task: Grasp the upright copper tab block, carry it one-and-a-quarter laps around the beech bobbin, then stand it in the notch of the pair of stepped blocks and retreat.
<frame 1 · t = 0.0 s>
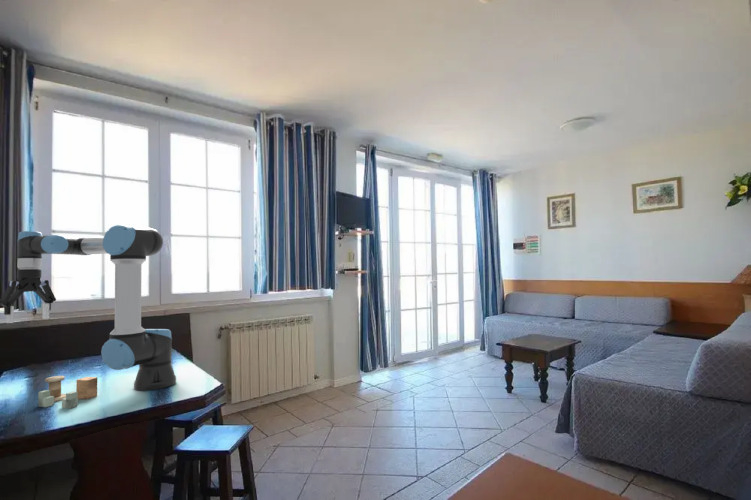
hand: (28, 320, 161), 28 cm above the table, fingers open, 13 cm apart
bobbin: (54, 399, 145), on the table
pair of stepped blocks: (57, 406, 137), on the table
tab: (86, 397, 147), on the table
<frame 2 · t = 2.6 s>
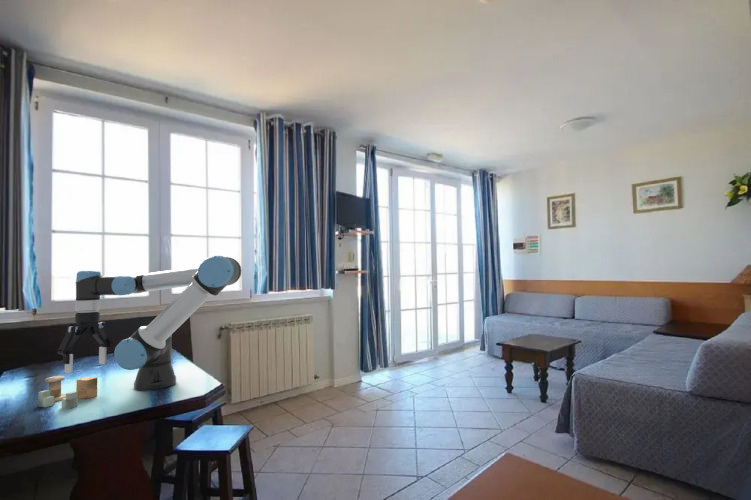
hand: (86, 368, 147), 11 cm above the table, fingers open, 13 cm apart
nothing on the table moved.
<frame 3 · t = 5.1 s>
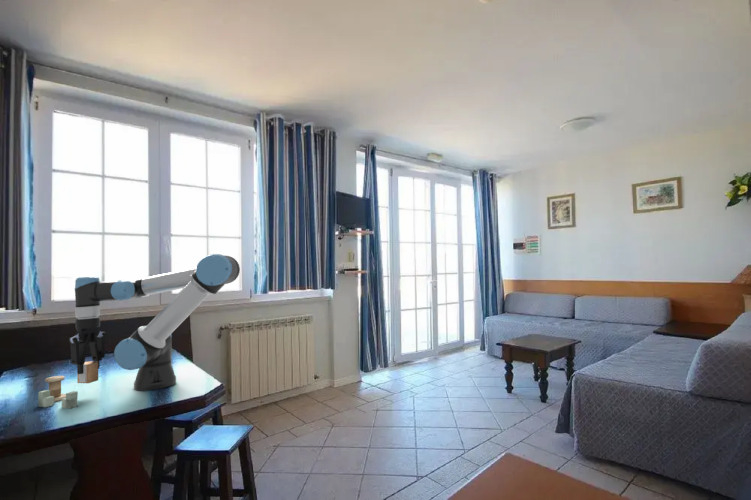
hand: (88, 380, 147), 6 cm above the table, fingers closed on tab, 4 cm apart
tab: (87, 381, 147), point 6 cm above the table, touching gripper
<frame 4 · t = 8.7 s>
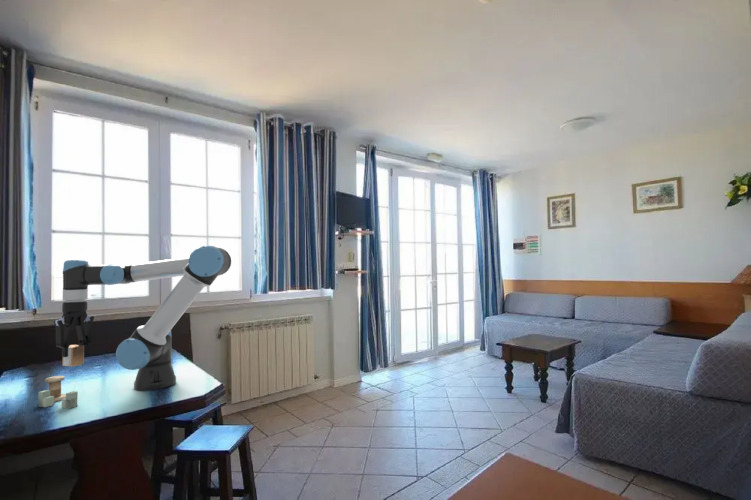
hand: (73, 363, 146), 13 cm above the table, fingers closed on tab, 4 cm apart
tab: (72, 364, 147), point 12 cm above the table, touching gripper
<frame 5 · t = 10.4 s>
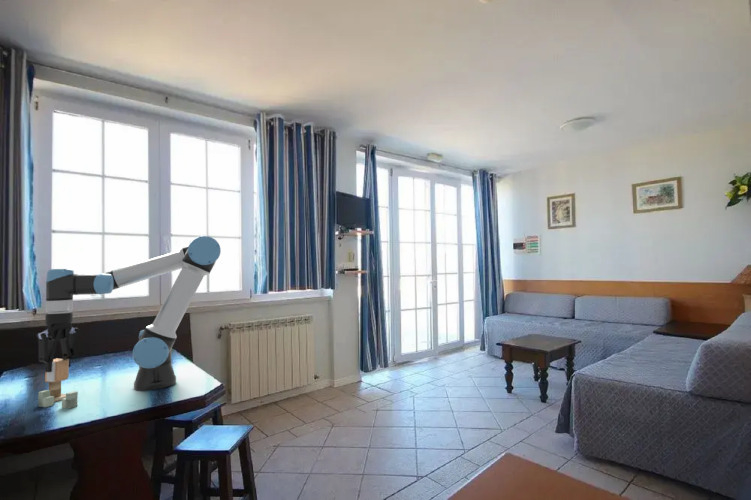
hand: (57, 379, 138), 9 cm above the table, fingers closed on tab, 4 cm apart
tab: (56, 380, 138), point 9 cm above the table, touching gripper
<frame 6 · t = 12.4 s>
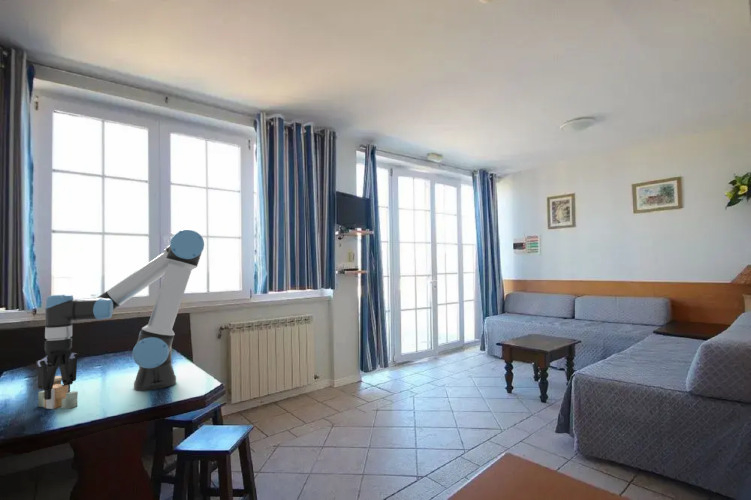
hand: (57, 405, 137), 0 cm above the table, fingers closed on tab, 4 cm apart
tab: (56, 406, 137), on the table, touching gripper
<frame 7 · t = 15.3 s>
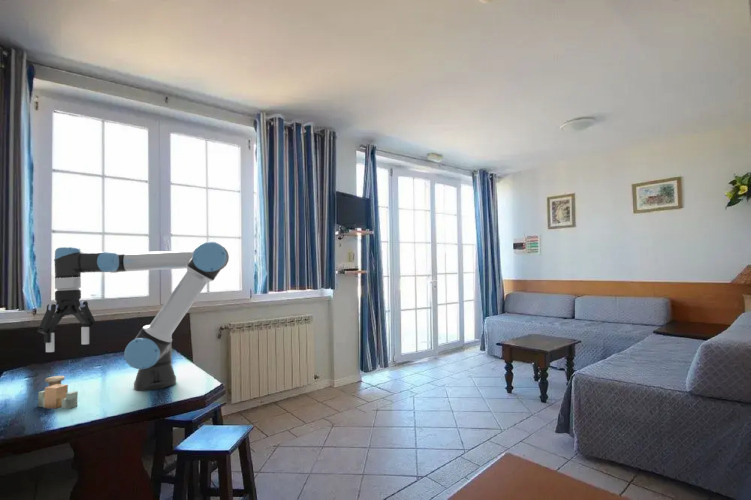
hand: (68, 348, 143), 19 cm above the table, fingers open, 13 cm apart
tab: (56, 406, 137), on the table
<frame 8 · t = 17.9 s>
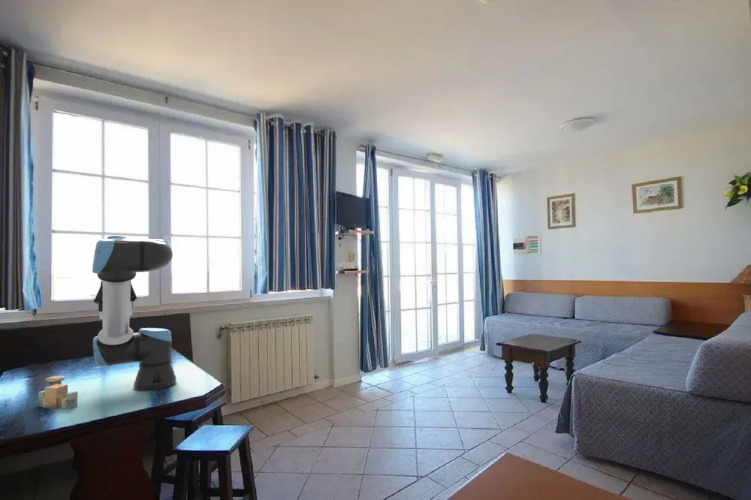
hand: (116, 317, 177), 27 cm above the table, fingers open, 13 cm apart
nothing on the table moved.
at the end: tab 0.6 cm off-centre on the pair of stepped blocks, point 0.0 cm above the pair of stepped blocks's base; tab tilted 0°; the gripper is holding nothing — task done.
